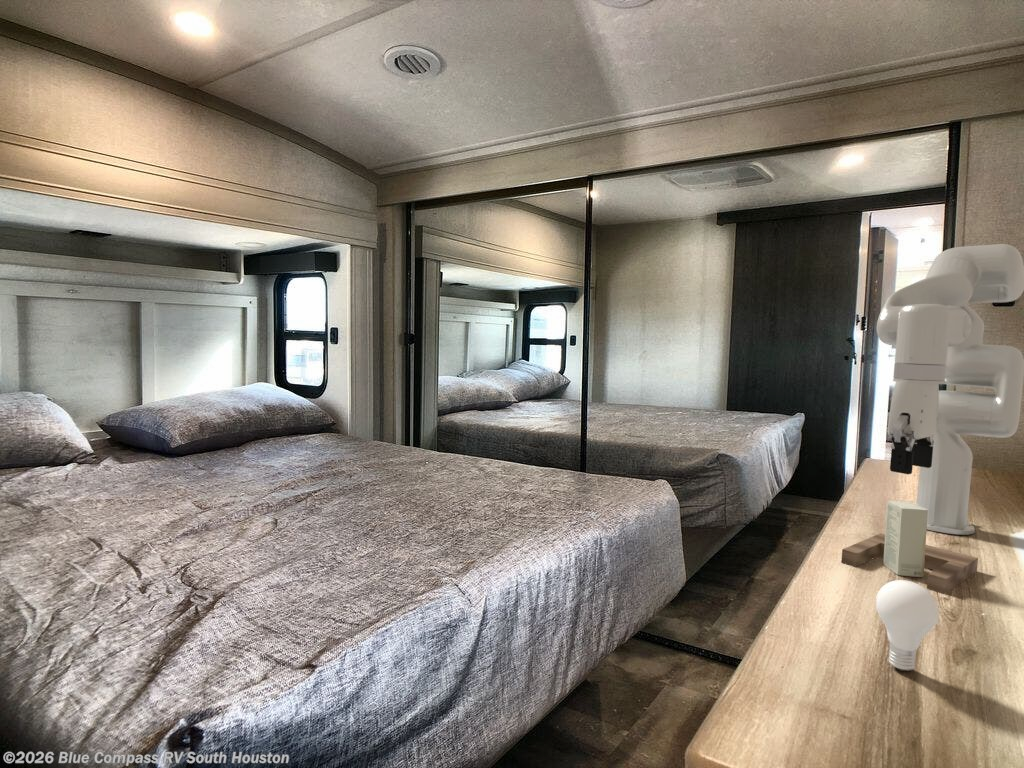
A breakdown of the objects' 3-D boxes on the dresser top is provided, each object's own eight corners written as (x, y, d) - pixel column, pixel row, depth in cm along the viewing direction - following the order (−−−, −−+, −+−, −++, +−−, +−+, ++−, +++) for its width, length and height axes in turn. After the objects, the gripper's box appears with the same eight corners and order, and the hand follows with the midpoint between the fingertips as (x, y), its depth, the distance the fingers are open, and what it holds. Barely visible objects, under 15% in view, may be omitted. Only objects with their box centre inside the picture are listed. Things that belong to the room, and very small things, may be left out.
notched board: (879, 545, 118) (880, 533, 118) (976, 571, 106) (978, 557, 105) (841, 562, 107) (842, 549, 107) (944, 593, 95) (946, 579, 94)
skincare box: (924, 578, 101) (930, 510, 100) (896, 575, 102) (902, 508, 101) (907, 565, 107) (913, 501, 106) (880, 562, 108) (886, 499, 107)
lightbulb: (858, 655, 74) (866, 571, 73) (905, 655, 74) (912, 572, 73) (895, 684, 67) (904, 593, 67) (946, 684, 68) (955, 593, 67)
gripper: (912, 372, 110) (904, 460, 111) (875, 373, 100) (868, 471, 101) (960, 375, 104) (951, 468, 106) (927, 376, 94) (918, 480, 95)
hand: (910, 469), depth 103 cm, fingers open, 9 cm apart
